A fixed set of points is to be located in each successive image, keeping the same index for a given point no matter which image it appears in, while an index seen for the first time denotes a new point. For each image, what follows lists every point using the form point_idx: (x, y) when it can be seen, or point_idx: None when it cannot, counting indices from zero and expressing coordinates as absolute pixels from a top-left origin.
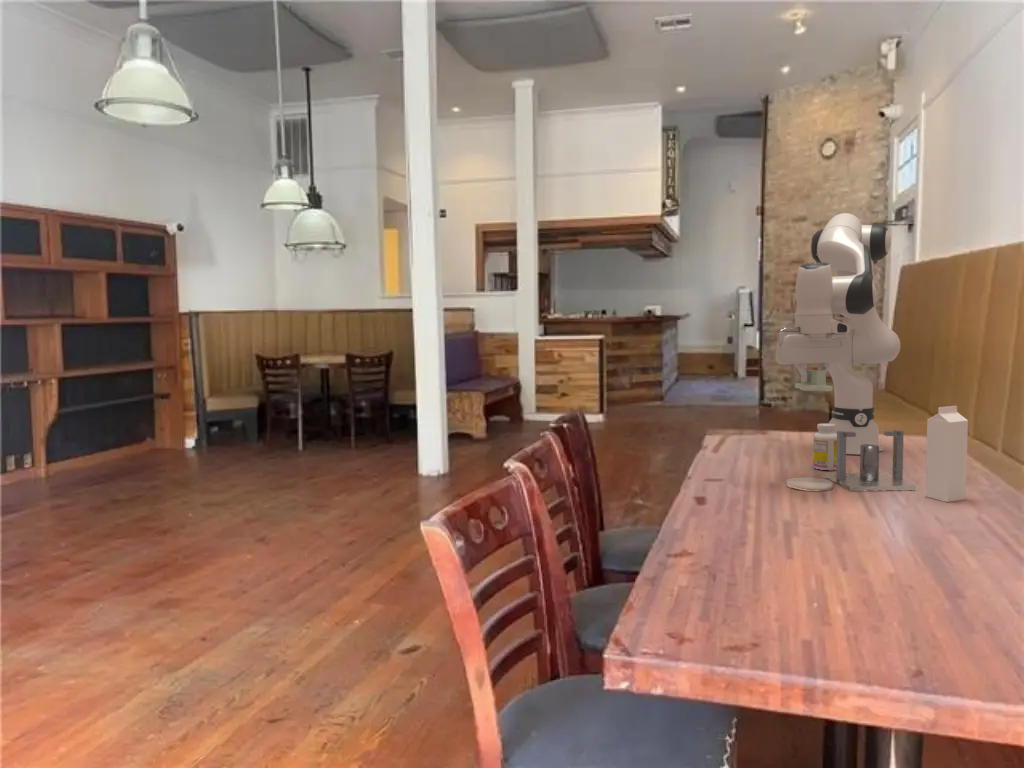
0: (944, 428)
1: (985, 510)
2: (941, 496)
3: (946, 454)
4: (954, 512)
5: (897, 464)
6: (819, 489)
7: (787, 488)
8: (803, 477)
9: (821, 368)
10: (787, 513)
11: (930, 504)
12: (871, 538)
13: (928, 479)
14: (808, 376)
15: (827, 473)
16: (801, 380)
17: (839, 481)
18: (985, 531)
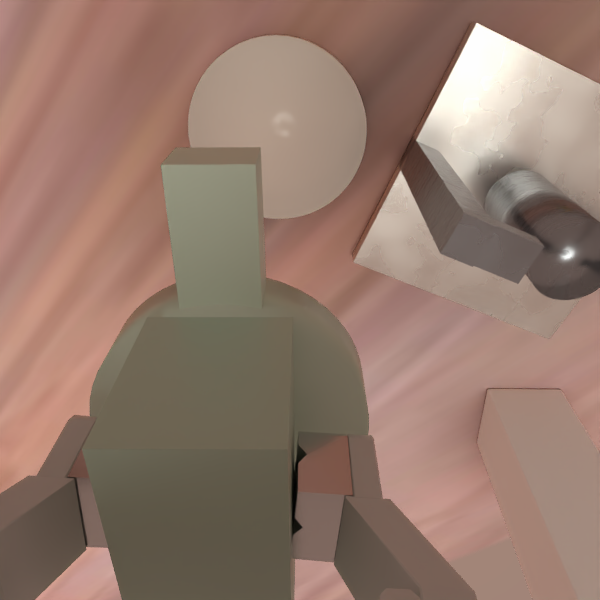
0: None
1: (474, 509)
2: (482, 436)
3: (519, 553)
4: (397, 495)
5: None
6: None
7: (180, 114)
8: (316, 49)
9: (398, 581)
10: (6, 358)
11: (419, 438)
12: None
13: (501, 432)
14: None
15: (476, 31)
16: (73, 421)
17: (400, 169)
18: (319, 578)
